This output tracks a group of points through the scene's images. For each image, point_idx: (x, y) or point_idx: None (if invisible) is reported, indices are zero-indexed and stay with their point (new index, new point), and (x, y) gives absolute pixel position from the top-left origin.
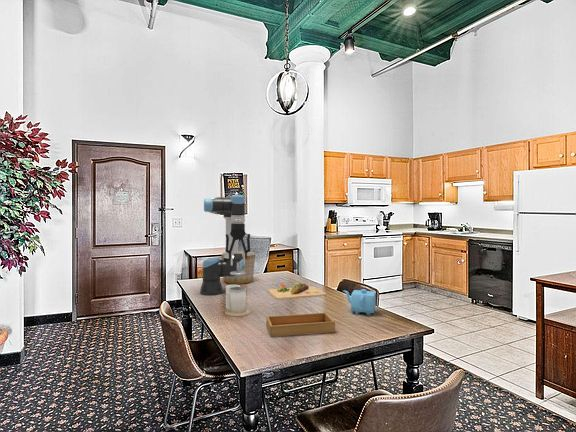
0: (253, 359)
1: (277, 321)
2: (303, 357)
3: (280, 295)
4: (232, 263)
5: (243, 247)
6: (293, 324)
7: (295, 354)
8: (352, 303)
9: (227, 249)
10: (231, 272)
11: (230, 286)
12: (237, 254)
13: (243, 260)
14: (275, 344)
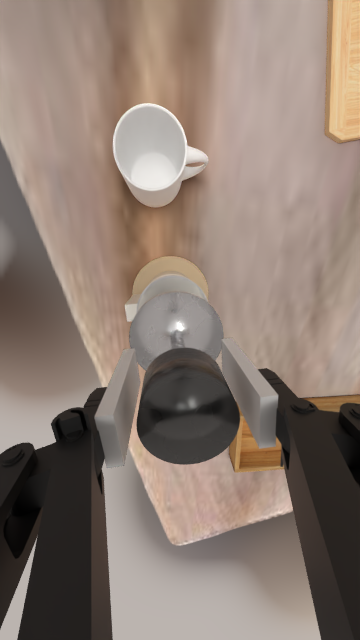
0: (189, 522)
1: None
2: (259, 520)
3: (353, 109)
4: (137, 391)
5: (300, 533)
6: (281, 467)
7: (251, 512)
8: None
9: (25, 539)
10: (137, 341)
11: (137, 114)
12: (182, 461)
13: (232, 384)
14: (230, 482)
